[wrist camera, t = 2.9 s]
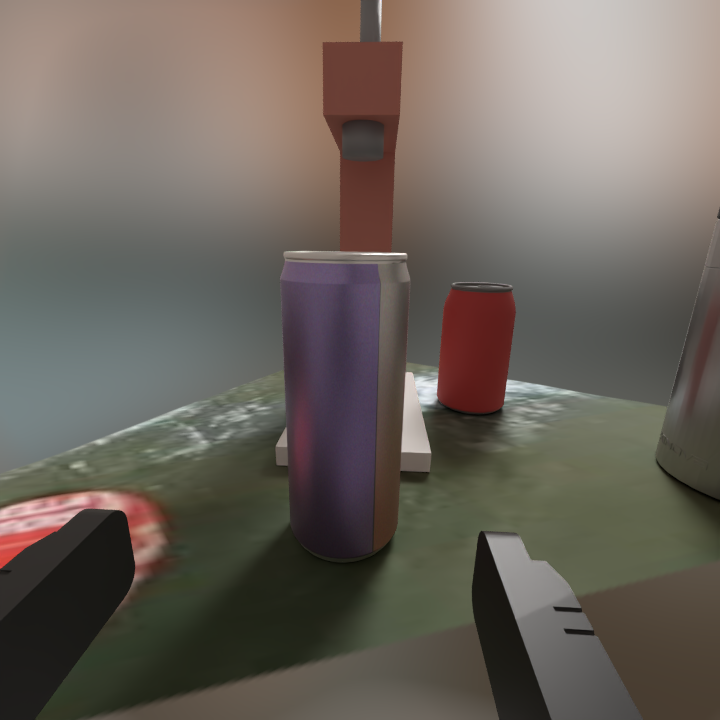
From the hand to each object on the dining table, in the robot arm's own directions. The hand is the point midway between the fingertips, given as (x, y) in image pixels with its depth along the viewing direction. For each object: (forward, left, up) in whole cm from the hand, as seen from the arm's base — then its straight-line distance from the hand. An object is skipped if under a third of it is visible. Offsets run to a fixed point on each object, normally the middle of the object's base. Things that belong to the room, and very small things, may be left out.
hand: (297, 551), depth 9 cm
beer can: (-11, -30, -9) cm, 33 cm away
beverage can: (0, -11, -9) cm, 14 cm away
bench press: (0, -26, -9) cm, 28 cm away
